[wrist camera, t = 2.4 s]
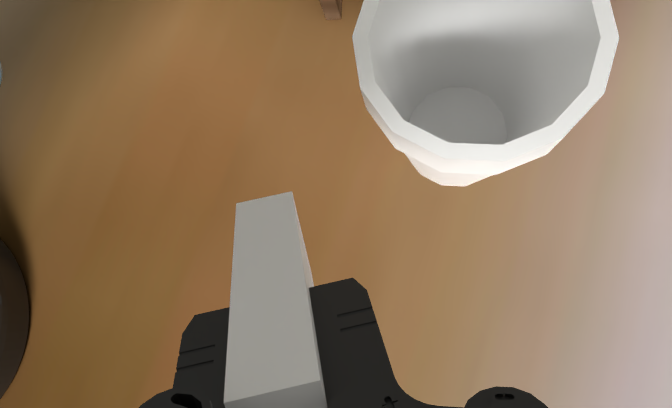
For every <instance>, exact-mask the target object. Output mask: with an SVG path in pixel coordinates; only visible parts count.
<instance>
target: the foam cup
mask: <svg viewBox="0 0 672 408" xmlns="http://www.w3.org/2000/svg"><path fill="white" fill-rule="evenodd" d="M352 38H353V45H354V51H355V58H356V64H357V71H358V77H359V83H360V89H361V92H362V96H363V99H364V102H365V106H366V109H367V110H368V112H369V113H370V114H371V116H372V117H373V119H374V120H375V121H376V123H377V124H378V125H379V127H380V128H381V130H382V131H383V132H384V134H385V135H386V136H387V138H388V139H389V140H390V142H391V143H392V145H393V146H394V147H395V148H396V149H397V150H399V151H401V152H403V153H405V154H406V156H407V157H408V159H409V160H410V161H411V163H412V164H413V165H414V167H415V168H416V169H417V171H418V172H419V173H420V174H421V175H423V176H425V177H427V178H428V179H430V180H432V181H434V182H436V183H438V184H440V185H448V186H467V185H469V184H472V183H474V182H477V181H479V180H482V179H484V178H487V177H489V176H492V175H497V174H499V173H502V172H504V171H507V170H509V169H512V168H514V167H517V166H519V165H522V164H524V163H527V162H529V161H532V160H534V159H537V158H539V157H542V156H544V155H547V154H548V153H549V152H550V151H551V150H552V149H553V148H554V147H555V146H556V145H557V144H558V143H559V142H560V141H561V140H562V139H563V138H564V137H565V135H566V134H567V133H568V132H569V131H570V130H571V129H572V128H573V127H574V126H575V125H576V124H577V122H578V121H579V120H580V119H581V118H582V117H583V116H584V115H585V114H586V113H587V112H588V111H589V109H590V108H591V107H592V106H593V105H594V104H595V103H596V102H597V101H598V100H599V99H600V97H601V96H602V95H603V94H604V93H605V89H606V85H607V82H608V78H609V74H610V70H611V67H612V63H613V59H614V55H615V52H616V48H617V44H618V40H619V35H618V31H617V27H616V23H615V19H614V15H613V11H612V7H611V3H610V0H364V2H363V5H362V8H361V11H360V14H359V17H358V20H357V23H356V26H355V29H354V33H353V36H352Z"/></svg>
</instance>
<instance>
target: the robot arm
mask: <svg viewBox="0 0 672 408" xmlns="http://www.w3.org/2000/svg"><path fill="white" fill-rule="evenodd" d="M1 81H2V66H1V62H0V85H1ZM28 325H29V304H28V296H27V290H26V286H25V282H24V278H23V275H22V273H21V270H20V268H19V265H18V263H17V262H16V260H15V258H14V256H13V255H12V253H11V251H10V250H9V249H8V247H7V246H6V245H5V244H4V243H3V241H2V240H1V239H0V398H1V397H2V396H3V394H4V393H5V391H6V390H7V388H8V387H9V385H10V383H11V382H12V380H13V378H14V376H15V374H16V372H17V369H18V367H19V365H20V362H21V359H22V356H23V352H24V349H25V345H26V340H27V334H28ZM179 354H180V356H178V362H177V367H176V369H177V372H176V373H175V379H174V384H173V388H172V389H170V390H167V391H164V392H162V393H159V394H157V395H155V396H154V397H152V398H151V399H149V400H148V401H146V402H145V403H143V404H142V405H141V406H140V407H139V408H462V407H445V406H435V405H429V404H425V403H423V402H420V401H418V400H415V399H414V398H412V397H411V396H409V395H408V394H406V393H405V392H404V391H403V390H402V389H401V387H400V386H399V385H398V383H397V381H396V379H395V377H394V374H393V371H392V368H391V365H390V362H389V358H388V355H387V352H386V349H385V346H384V343H383V340H382V336H381V333H380V330H379V327H378V324H377V321H376V318H375V314H374V311H373V309H372V305H371V302H370V299H369V296H368V293H367V290H366V289H365V288H364V287H363V286H362V285H360V284H359V283H358V282H357V281H356V280H355V279H354V278H350V279H345V280H341V281H337V282H332V283H328V284H323V285H319V286H315V287H314V285H313V279H312V273H311V269H310V265H309V261H308V256H307V252H306V248H305V244H304V240H303V235H302V231H301V227H300V223H299V219H298V215H297V210H296V206H295V202H294V198H293V194H292V191H291V192H287V193H282V194H278V195H273V196H268V197H264V198H259V199H255V200H250V201H245V202H241V203H236V218H235V233H234V249H233V264H232V280H231V295H230V307H229V308H224V309H220V310H215V311H211V312H207V313H202V314H198V315H195V316H194V317H193V319H192V320H191V322H190V323H189V325H188V326H187V328H186V329H185V331H184V332H183V334H182V339H181V345H180V351H179ZM464 408H548V407H547V406H546V405H545V404H544V403H542V402H541V401H540V400H538V399H537V398H536V397H534V396H533V395H532V394H530V393H527V392H525V391H522V390H519V389H516V388H513V387H493V388H489V389H485V390H482V391H479V392H478V393H477V394H475V395H474V396H473V397H471V398H470V399H469V400H468V401H467V403H466V405H465V407H464Z"/></svg>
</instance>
